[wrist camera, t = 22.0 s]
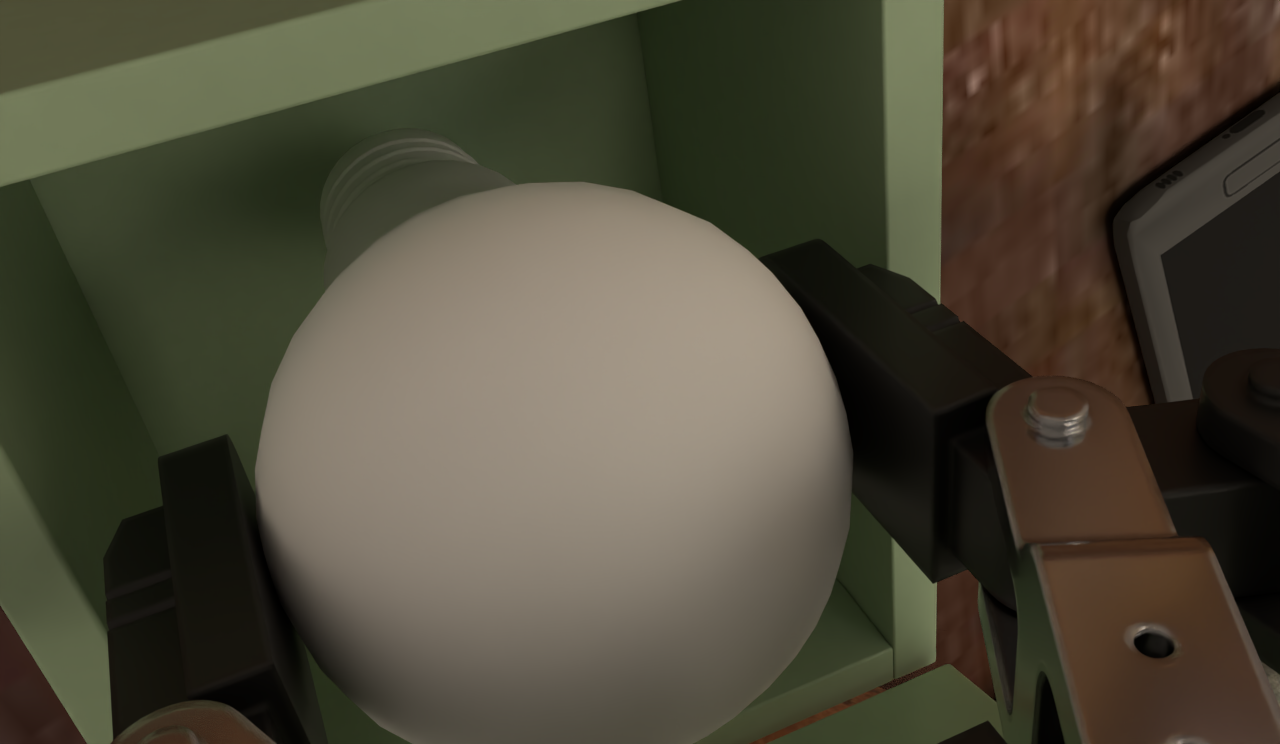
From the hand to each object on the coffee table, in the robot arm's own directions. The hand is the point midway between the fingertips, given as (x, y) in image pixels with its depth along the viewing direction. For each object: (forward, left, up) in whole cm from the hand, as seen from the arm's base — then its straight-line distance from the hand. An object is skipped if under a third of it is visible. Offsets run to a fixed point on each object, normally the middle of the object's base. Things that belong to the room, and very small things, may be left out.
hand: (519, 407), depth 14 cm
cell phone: (+12, +22, -9) cm, 26 cm away
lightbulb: (0, 0, -7) cm, 7 cm away
